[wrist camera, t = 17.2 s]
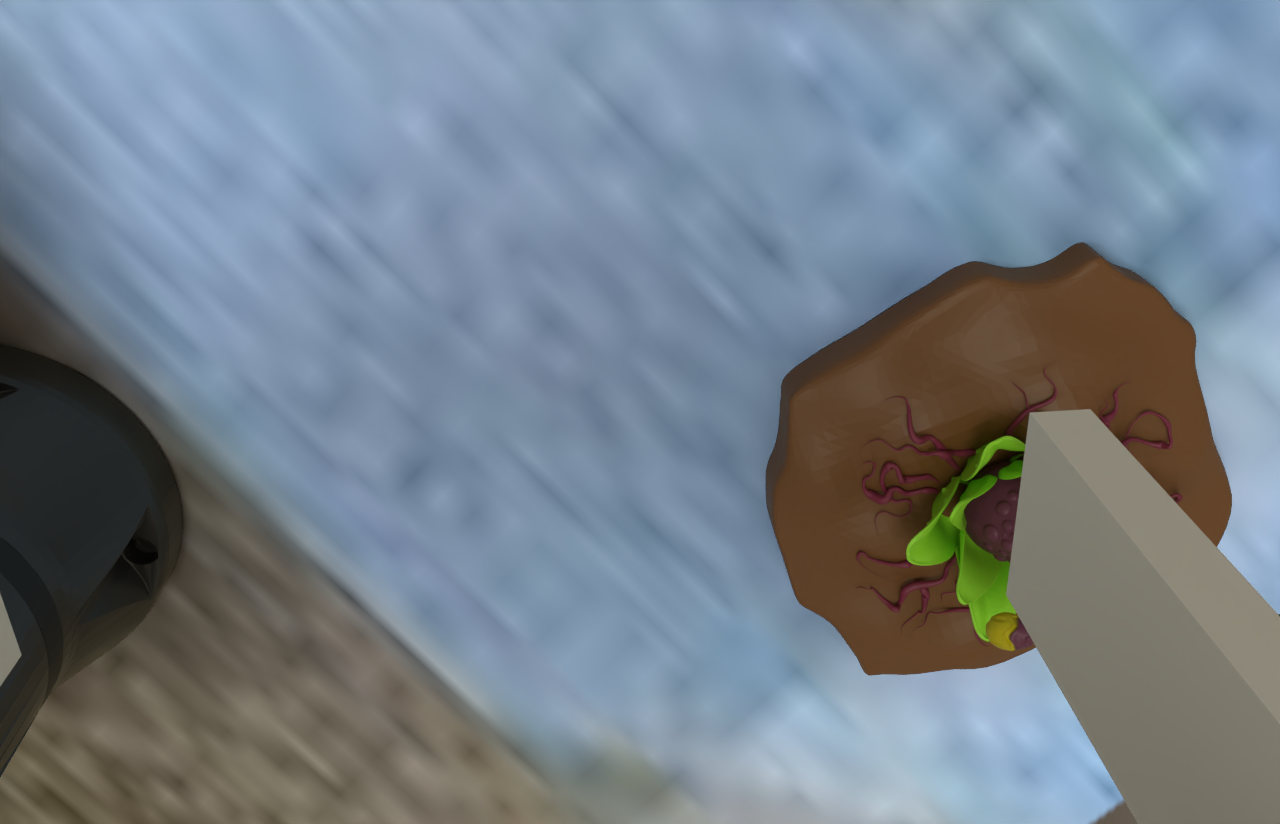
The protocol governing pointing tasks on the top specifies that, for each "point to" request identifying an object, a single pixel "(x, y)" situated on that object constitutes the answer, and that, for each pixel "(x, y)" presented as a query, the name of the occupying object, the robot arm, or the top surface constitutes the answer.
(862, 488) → the plant
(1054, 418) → the robot arm
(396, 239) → the top surface
